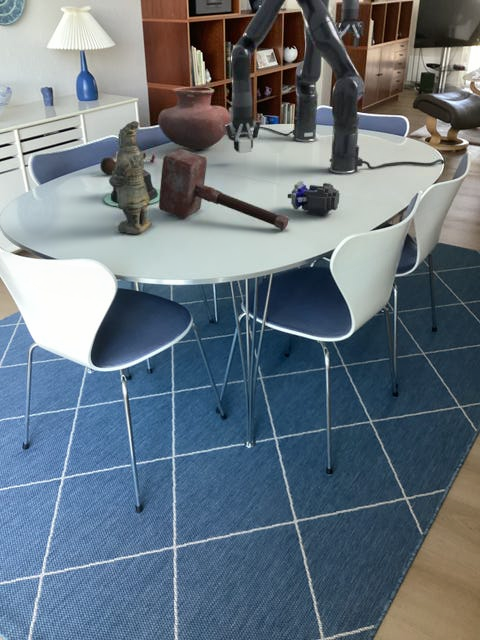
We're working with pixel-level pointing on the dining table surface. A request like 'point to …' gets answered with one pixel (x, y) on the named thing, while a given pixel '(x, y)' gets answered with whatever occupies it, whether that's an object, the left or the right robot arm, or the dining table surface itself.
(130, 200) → the statue
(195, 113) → the clay pot
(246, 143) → the block
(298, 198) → the toy
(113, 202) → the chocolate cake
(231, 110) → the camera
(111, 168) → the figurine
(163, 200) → the sledgehammer
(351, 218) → the dining table surface
